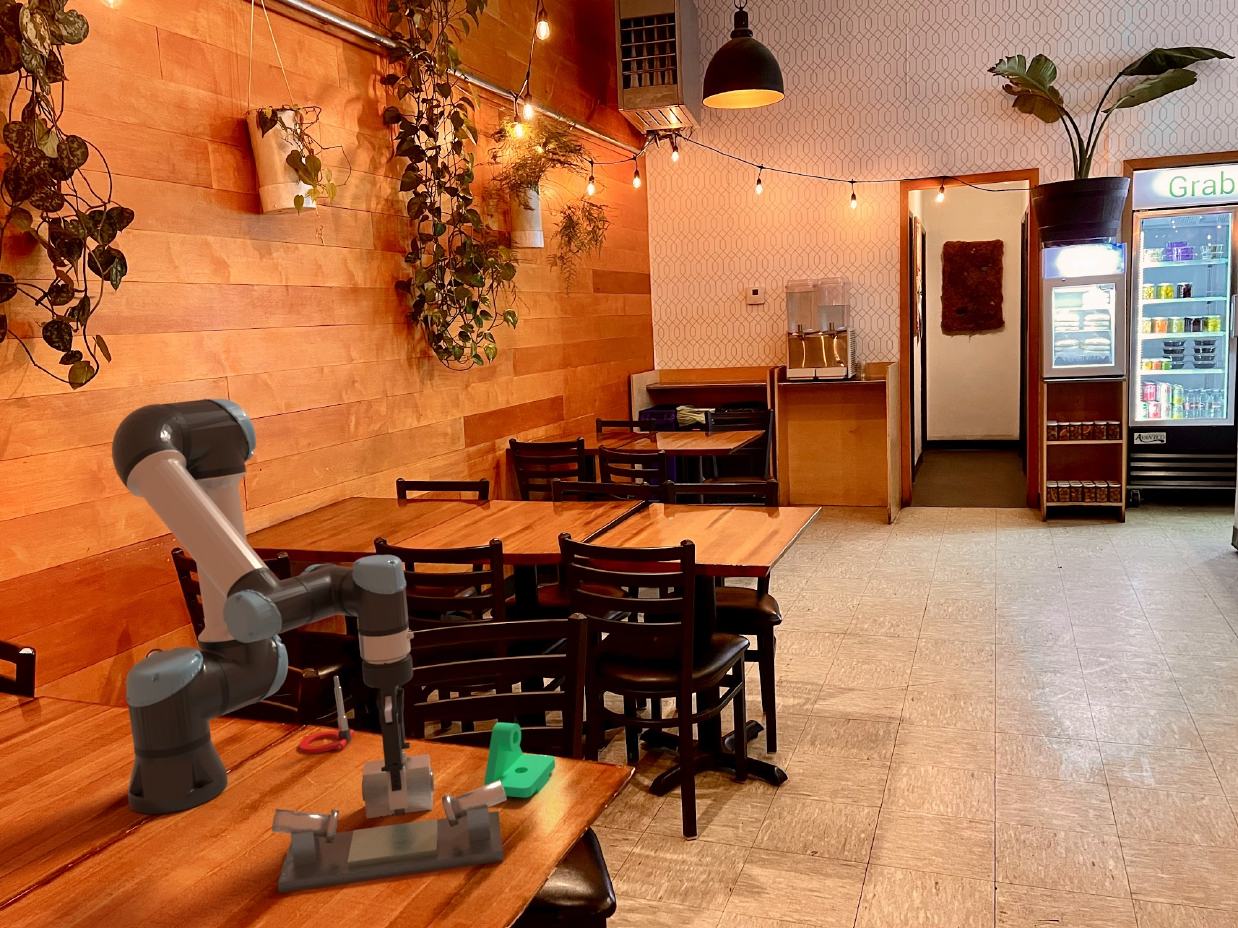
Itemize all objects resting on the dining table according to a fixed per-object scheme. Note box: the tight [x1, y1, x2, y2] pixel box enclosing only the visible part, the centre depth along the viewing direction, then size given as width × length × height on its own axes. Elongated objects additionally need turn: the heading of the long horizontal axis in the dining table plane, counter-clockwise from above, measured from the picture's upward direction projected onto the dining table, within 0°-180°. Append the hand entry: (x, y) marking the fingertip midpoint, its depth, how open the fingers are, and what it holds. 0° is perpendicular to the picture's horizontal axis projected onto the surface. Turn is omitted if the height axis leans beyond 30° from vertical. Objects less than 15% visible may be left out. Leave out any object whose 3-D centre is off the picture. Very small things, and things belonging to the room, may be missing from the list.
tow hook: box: [298, 675, 355, 754], centre depth 182 cm, size 8×13×9 cm
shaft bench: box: [271, 780, 508, 894], centre depth 140 cm, size 32×12×9 cm, turn 100°
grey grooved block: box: [361, 753, 435, 819], centre depth 155 cm, size 11×5×7 cm, turn 100°
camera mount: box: [483, 722, 556, 798], centre depth 160 cm, size 12×8×10 cm, turn 162°
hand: (399, 798), depth 155 cm, fingers closed on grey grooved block, 5 cm apart
